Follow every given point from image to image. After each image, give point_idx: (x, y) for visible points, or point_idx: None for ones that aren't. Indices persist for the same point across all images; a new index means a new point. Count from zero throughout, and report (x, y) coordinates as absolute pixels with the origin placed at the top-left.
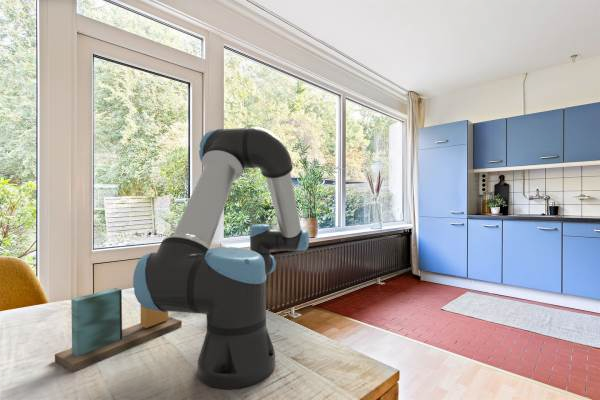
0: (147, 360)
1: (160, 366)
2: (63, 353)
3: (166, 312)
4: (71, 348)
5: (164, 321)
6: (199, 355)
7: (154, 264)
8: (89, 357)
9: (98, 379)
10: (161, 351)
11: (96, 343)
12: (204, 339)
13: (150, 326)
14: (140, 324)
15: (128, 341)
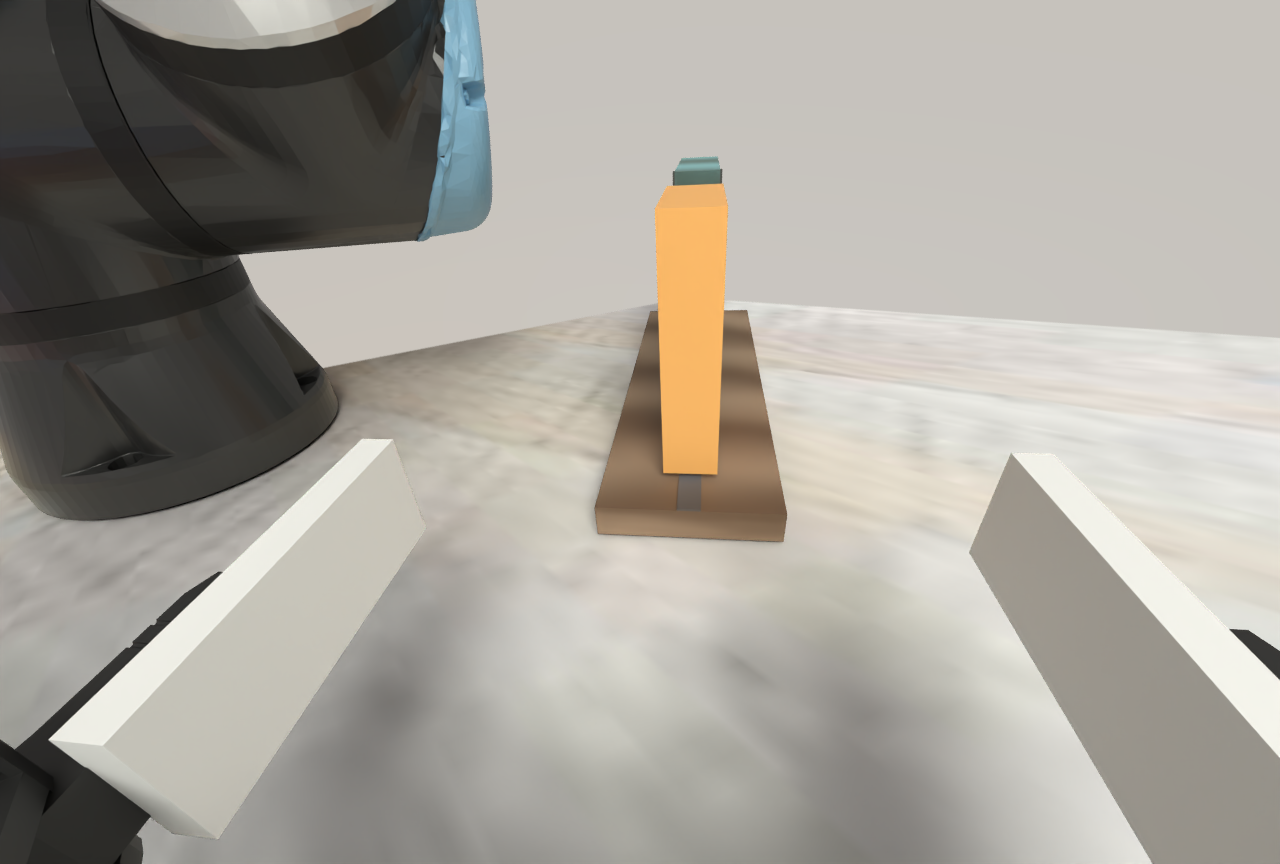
0: (523, 385)
1: (463, 384)
2: (732, 315)
3: (662, 429)
4: (746, 322)
5: (680, 473)
6: (314, 359)
7: (374, 15)
8: (648, 324)
9: (572, 338)
10: (519, 413)
11: None
12: (276, 317)
13: None
14: (753, 425)
15: (638, 367)
